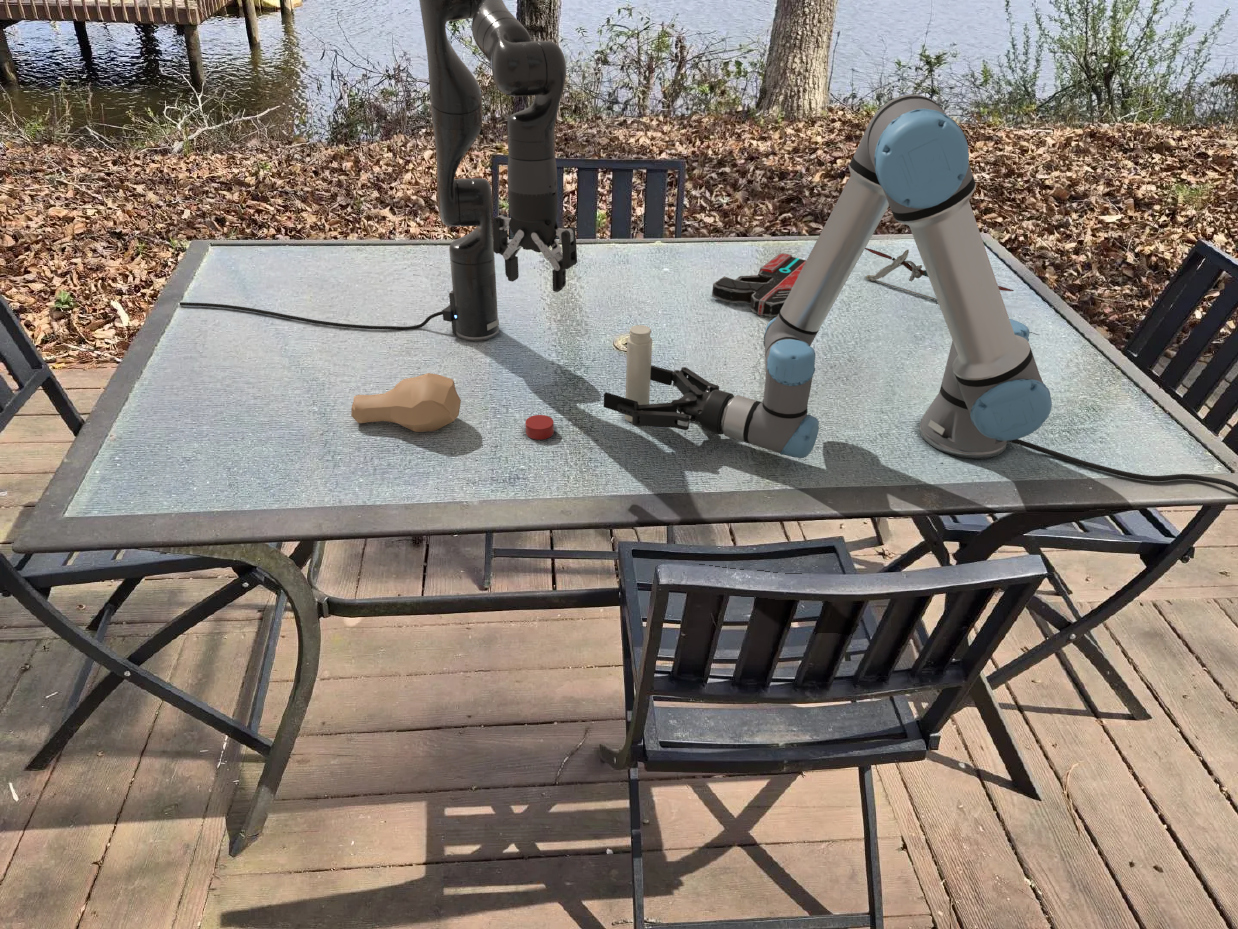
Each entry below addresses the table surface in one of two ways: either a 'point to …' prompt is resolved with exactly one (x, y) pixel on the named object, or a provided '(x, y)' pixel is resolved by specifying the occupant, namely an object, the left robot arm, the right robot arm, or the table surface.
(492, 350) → the table surface
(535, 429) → the lid
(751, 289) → the gun
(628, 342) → the slim white bottle
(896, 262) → the bow
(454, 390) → the squash
